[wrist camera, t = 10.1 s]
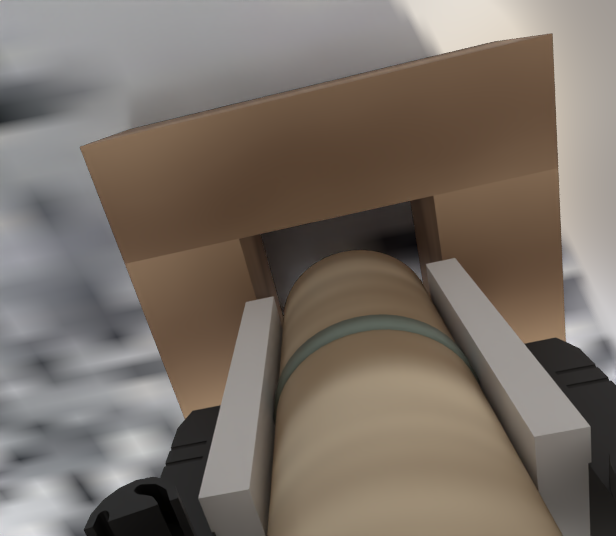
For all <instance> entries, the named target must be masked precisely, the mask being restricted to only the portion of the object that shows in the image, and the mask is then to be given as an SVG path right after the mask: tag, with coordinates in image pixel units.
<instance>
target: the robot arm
mask: <svg viewBox="0 0 616 536" xmlns="http://www.w3.org/2000/svg"><path fill="white" fill-rule="evenodd" d="M426 269H427V276H428V282H429V289H430V296H431V300H432V301H433V303H434V305H435V307H436V308H437V310H438V312H439V314H440V316H441V317H442V319H443V321H444V323H445V325H446V326H447V328H448V330H449V332H450V334H451V335H452V337H453V339H454V341H455V343H456V344H457V345H458V346H459V348H460V349H461V350H462V351H463V353H464V354H465V356H466V357H467V359H468V361H469V362H470V364H471V366H472V368H473V369H474V371H475V373H476V375H477V377H478V378H479V381H480V387H481V389H482V391H483V393H484V395H485V396H486V398H487V400H488V402H489V404H490V405H491V407H492V409H493V411H494V413H495V414H496V416H497V418H498V420H499V422H500V423H501V425H502V427H503V429H504V431H505V432H506V434H507V436H508V438H509V440H510V441H511V443H512V445H513V447H514V448H515V450H516V452H517V454H518V456H519V457H520V459H521V461H522V463H523V465H524V466H525V468H526V470H527V472H528V474H529V475H530V477H531V479H532V481H533V483H534V484H535V486H536V488H537V490H538V492H539V493H540V495H541V497H542V499H543V501H544V502H545V504H546V506H547V508H548V509H549V511H550V513H551V515H552V517H553V518H554V520H555V522H556V524H557V526H558V527H559V529H560V531H561V533H562V535H563V536H616V385H615V384H614V383H613V382H612V381H609V379H608V377H607V376H606V375H605V374H604V373H603V372H602V371H601V370H600V369H599V368H598V367H597V368H596V366H595V364H594V363H593V362H592V361H591V360H590V359H589V358H588V357H587V356H586V355H585V354H584V353H583V352H582V351H581V350H580V349H579V348H577V347H575V346H573V345H571V344H569V343H567V342H565V341H563V340H561V339H558V338H556V337H555V338H550V339H545V340H540V341H535V342H530V343H525V344H524V343H523V342H522V341H521V339H520V338H519V337H518V336H517V334H516V333H515V332H514V331H513V329H512V328H511V327H510V326H509V324H508V323H507V322H506V321H505V319H504V318H503V317H502V316H501V314H500V313H499V312H498V311H497V309H496V308H495V307H494V306H493V305H492V303H491V302H490V301H489V300H488V298H487V297H486V296H485V295H484V293H483V292H482V291H481V290H480V288H479V287H478V286H477V285H476V283H475V282H474V281H473V280H472V278H471V277H470V276H469V275H468V273H467V272H466V271H465V270H464V268H463V267H462V266H461V265H460V263H459V262H458V261H457V260H456V259H455V258H452V259H447V260H443V261H438V262H433V263H428V264H426ZM282 332H283V328H282V325H281V321H280V318H279V314H278V310H277V307H276V303H275V299H274V296H272V297H268V298H263V299H258V300H253V301H249V302H246V303H245V308H244V312H243V316H242V320H241V324H240V328H239V332H238V336H237V340H236V345H235V349H234V353H233V357H232V361H231V365H230V369H229V373H228V378H227V382H226V386H225V390H224V394H223V398H222V402H221V405H219V406H214V407H209V408H204V409H198V410H193V411H192V412H191V413H190V414H189V415H188V417H187V418H186V419H185V420H184V421H183V423H182V424H181V425H180V426H179V427H178V429H177V432H176V435H175V437H174V440H173V443H172V446H171V451H170V452H169V455H168V458H167V461H166V467H164V469H163V472H162V475H161V478H157V477H150V478H145V479H140V480H136V481H134V482H131V483H129V484H127V485H125V486H123V487H121V488H119V489H117V490H116V491H115V492H113V493H112V494H111V495H109V496H108V497H107V498H105V499H104V500H103V501H102V502H101V503H100V505H99V506H98V507H97V508H96V509H95V510H94V511H93V513H92V514H91V515H90V517H89V520H88V522H87V524H86V526H85V528H84V531H85V533H86V535H87V536H267V531H268V518H269V505H270V491H271V478H272V465H273V452H274V438H275V425H274V419H273V417H274V405H275V394H276V388H277V384H278V381H279V372H280V359H281V345H282Z"/></svg>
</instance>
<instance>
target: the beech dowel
mask: <svg viewBox="0 0 616 536" xmlns="http://www.w3.org/2000/svg"><path fill="white" fill-rule="evenodd" d="M273 419H274V425H275V438H274V452H273V465H272V478H271V491H270V505H269V518H268V531H267V536H563V535H562V533H561V531H560V529H559V527H558V526H557V524H556V522H555V520H554V518H553V517H552V515H551V513H550V511H549V509H548V508H547V506H546V504H545V502H544V501H543V499H542V497H541V495H540V493H539V492H538V490H537V488H536V486H535V484H534V483H533V481H532V479H531V477H530V475H529V474H528V472H527V470H526V468H525V466H524V465H523V463H522V461H521V459H520V457H519V456H518V454H517V452H516V450H515V448H514V447H513V445H512V443H511V441H510V440H509V438H508V436H507V434H506V432H505V431H504V429H503V427H502V425H501V423H500V422H499V420H498V418H497V416H496V414H495V413H494V411H493V409H492V407H491V405H490V404H489V402H488V400H487V398H486V396H485V395H484V393H483V391H482V389H481V387H480V381H479V378H478V377H477V375H476V373H475V371H474V369H473V368H472V366H471V364H470V362H469V361H468V359H467V357H466V356H465V354H464V353H463V351H462V350H461V349H460V348H459V346H458V345H457V344H456V343H455V341H454V339H453V337H452V335H451V334H450V332H449V330H448V328H447V326H446V325H445V323H444V321H443V319H442V317H441V316H440V314H439V312H438V310H437V308H436V307H435V305H434V303H433V301H432V300H431V298H430V296H429V294H428V292H427V291H426V289H425V287H424V285H423V284H422V282H421V280H420V279H419V277H418V276H417V275H416V274H415V273H414V272H413V271H412V270H411V269H410V268H409V267H408V266H407V265H405V264H404V263H403V262H401V261H399V260H398V259H396V258H394V257H392V256H389V255H386V254H384V253H380V252H375V251H368V250H352V251H345V252H340V253H337V254H333V255H331V256H328V257H326V258H324V259H322V260H320V261H318V262H317V263H315V264H314V265H312V266H311V267H310V268H308V269H307V270H306V271H305V272H304V273H303V274H302V275H301V276H300V277H299V278H298V280H297V281H296V282H295V284H294V285H293V287H292V289H291V291H290V293H289V295H288V298H287V300H286V304H285V308H284V319H283V332H282V345H281V359H280V372H279V381H278V384H277V388H276V394H275V405H274V417H273Z"/></svg>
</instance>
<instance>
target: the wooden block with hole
mask: <svg viewBox="0 0 616 536" xmlns="http://www.w3.org/2000/svg"><path fill="white" fill-rule="evenodd" d="M554 83H555V82H554V59H553V36H552V34H545V35H538V36H530V37H524V38H516V39H509V40H502V41H495V42H490V43H486V44H482V45H478V46H474V47H470V48H465V49H461V50H457V51H453V52H449V53H444V54H440V55H436V56H432V57H428V58H424V59H420V60H415V61H411V62H407V63H403V64H399V65H395V66H390V67H386V68H382V69H378V70H374V71H370V72H366V73H361V74H357V75H353V76H349V77H345V78H341V79H337V80H332V81H328V82H324V83H320V84H316V85H312V86H307V87H303V88H299V89H295V90H291V91H287V92H283V93H278V94H274V95H270V96H266V97H262V98H258V99H253V100H249V101H245V102H241V103H237V104H233V105H229V106H224V107H220V108H216V109H212V110H208V111H204V112H200V113H195V114H191V115H187V116H183V117H179V118H175V119H170V120H166V121H162V122H158V123H154V124H150V125H146V126H141V127H137V128H133V129H129V130H126V131H123V132H121V133H118V134H115V135H112V136H109V137H106V138H103V139H101V140H98V141H95V142H92V143H89V144H86V145H84V146H81V147H80V149H81V152H82V154H83V157H84V159H85V162H86V165H87V167H88V170H89V172H90V175H91V178H92V180H93V183H94V185H95V188H96V190H97V193H98V196H99V198H100V201H101V203H102V206H103V209H104V211H105V214H106V216H107V219H108V222H109V224H110V227H111V229H112V232H113V234H114V237H115V240H116V242H117V245H118V247H119V250H120V253H121V255H122V258H123V260H124V263H125V265H126V268H127V271H128V273H129V276H130V278H131V281H132V284H133V286H134V289H135V291H136V294H137V296H138V299H139V302H140V304H141V307H142V309H143V312H144V315H145V317H146V320H147V322H148V325H149V328H150V330H151V333H152V335H153V338H154V340H155V343H156V346H157V348H158V351H159V353H160V356H161V359H162V361H163V364H164V366H165V369H166V371H167V374H168V377H169V379H170V382H171V384H172V387H173V390H174V392H175V395H176V397H177V400H178V402H179V405H180V408H181V410H182V413H183V415H184V418H185V419H186V418H187V417H188V415H189V414H190V413H191V412H192V411H193V410H198V409H204V408H209V407H214V406H219V405H221V402H222V398H223V394H224V390H225V386H226V382H227V378H228V373H229V369H230V365H231V361H232V357H233V353H234V349H235V345H236V340H237V336H238V332H239V328H240V324H241V320H242V316H243V312H244V308H245V303H246V302H249V301H253V300H258V299H263V298H268V297H272V296H274V299H275V303H276V307H277V310H278V314H279V318H280V321H281V325H282V328H283V319H284V317H283V314H282V310H281V307H280V303H279V299H278V296H277V292H276V288H275V285H274V281H273V277H272V274H271V270H270V266H269V263H268V259H267V255H266V252H265V248H264V244H263V241H262V237H261V234H263V233H267V232H272V231H276V230H281V229H285V228H290V227H294V226H299V225H303V224H308V223H312V222H317V221H321V220H326V219H331V218H335V217H340V216H344V215H349V214H353V213H358V212H362V211H367V210H371V209H376V208H380V207H385V206H389V205H394V204H398V203H403V202H407V201H410V203H411V209H412V216H413V222H414V228H415V235H416V241H417V248H418V254H419V261H420V267H421V274H422V280H423V285H424V287H425V289H426V291H427V292H428V294H429V296H430V289H429V282H428V276H427V269H426V264H428V263H433V262H438V261H443V260H447V259H452V258H455V259H456V260H457V261H458V262H459V263H460V265H461V266H462V267H463V268H464V270H465V271H466V272H467V273H468V275H469V276H470V277H471V278H472V280H473V281H474V282H475V283H476V285H477V286H478V287H479V288H480V290H481V291H482V292H483V293H484V295H485V296H486V297H487V298H488V300H489V301H490V302H491V303H492V305H493V306H494V307H495V308H496V309H497V311H498V312H499V313H500V314H501V316H502V317H503V318H504V319H505V321H506V322H507V323H508V324H509V326H510V327H511V328H512V329H513V331H514V332H515V333H516V334H517V336H518V337H519V338H520V339H521V341H522V342H523V343H524V344H525V343H530V342H535V341H540V340H545V339H550V338H555V337H556V338H558V339H561V340H563V341H565V342H566V338H565V315H564V291H563V268H562V245H561V222H560V200H559V199H560V198H559V175H558V153H557V130H556V106H555V84H554ZM430 298H431V296H430Z"/></svg>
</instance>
